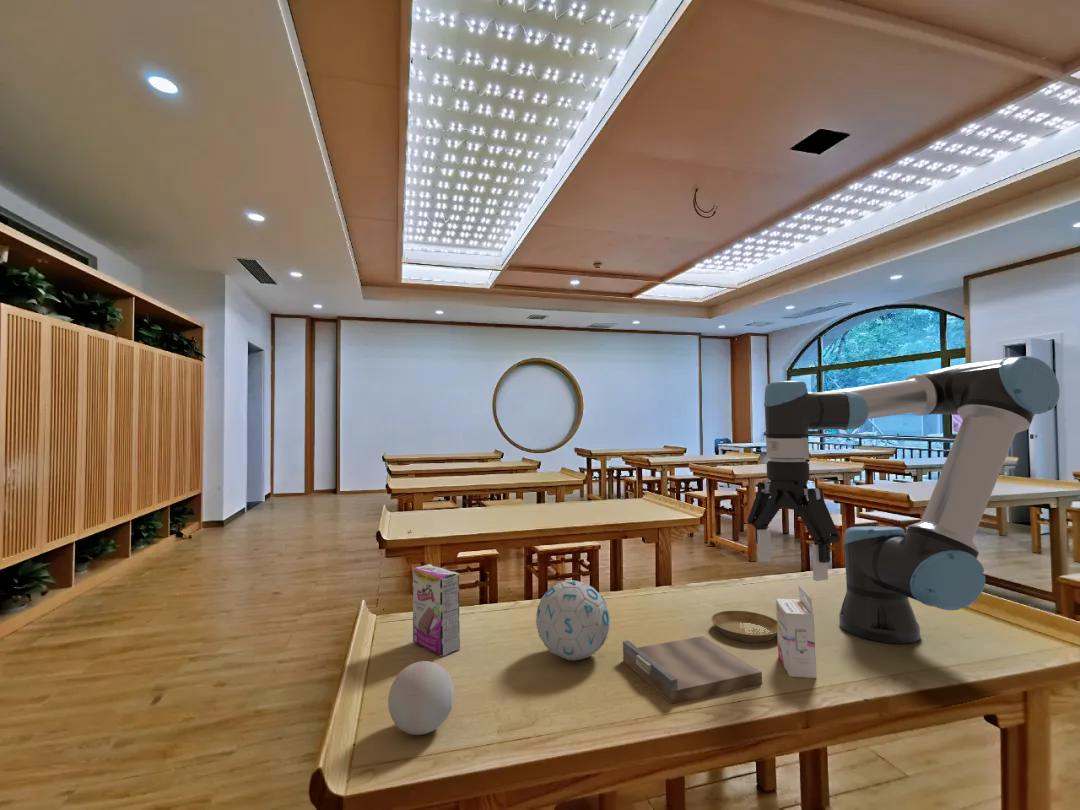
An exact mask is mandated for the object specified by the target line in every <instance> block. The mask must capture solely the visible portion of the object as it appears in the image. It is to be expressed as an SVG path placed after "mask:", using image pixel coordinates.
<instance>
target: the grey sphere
mask: <svg viewBox="0 0 1080 810" xmlns="http://www.w3.org/2000/svg"><path fill="white" fill-rule="evenodd" d="M454 703H455V686H454V682H453V680H452V678H451V676H450V674H449V673H448V671H447V670H446V669H445V668H444V667H443V666H441V665H440V664H438V663H437V662H433V661H427V660H424V661H423V660H422V661H417V662H416V661H415V662H413V663H411V664H409V665H408V666H405V668H403V669H402V670H401V671H400V672H399V673H398V675H397V676H396V677H395V679H394V680H393V682H392V684H391V686H390V689H389V692H388V698H387V707H388V713H389V714H390V717H391V719H392V722H393V723H394V724H395V726H396V727H398V729H399V730H401V731H403V732H404V733H405V734H409V735H413V736H414V735H415V736H421V735H426V734H429V733H432V732H433V731H435V730H436V729H438V728H439V727H440V726H441V725H442V724H443V723H444V722H445V721H446V720H447V718H448V717H449V715H450V713H451V711H452V709H453V707H454Z"/></svg>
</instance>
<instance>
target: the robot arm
mask: <svg viewBox="0 0 1080 810" xmlns="http://www.w3.org/2000/svg"><path fill="white" fill-rule="evenodd" d="M764 390H765V391H764V403H763V406H764V417H765V418H764V419H765V421H764V423H765V425H764V426H765V446H766V447H765V448H766V458H767V459H769V460H768V461H767V462H766V478H767V479H768V480H770V481H759V482H757V490H756V491H757V493H756V495H755V498H754V501H753V503H752V507H751V508H750V512H749V515H748V518H747V523H748V524H749V525H752V526H753V528H754V529H755V543H756V544H757V562H759V563H768V562H772V544H771V543H772V540H771V537H772V536H771V528H770V524H771V522H772V520H773V519H774V518H775V516H776V515H777V514H778V512H779V511H780V509H781V508H785V509H787V510H793V511H794V512H795V513H796V514H797V515H798V516H799V517H800V519H801V521H802V522H803V524H804V526H805V527H806V528H807V530H808V532H809V533H810V535H811V537H812V538H813V540H814V542H813V543H811V549H812V550H811V551H812V554H811V556H812V557H811V558H812V580H813V581H815V582H820V581H827V580H829V567H828V566H829V565H828V563H830V561H831V544H834V543H840V542H841V537H840V534H839V532H838V530H837V528H836V525H835V523H834V521H833V519H832V516H831V513H830V511H829V509H828V507H827V504H826V502H825V499H824V491H823V489H822V488H821V487H814V488H808V481H809V480H811V479H810V477H811V476H810V463H809V461H806V460H807V459H809V458H810V451H809V450H810V449H809V431H813V430H814V431H816V430H819V431H821V430H824V431H825V430H826V431H827V430H829V431H830V430H842V431H848V430H855V429H859V428H861V427H862V426H864V425H865V423H866V421H867V420H869V419H876V418H877V419H878V418H883V417H891V416H892V417H893V416H899V415H904V414H912V415H915V416H927V415H949V416H950V415H951V416H953V415H956V416H959V417H960V419H961V420H962V421H961V423H960V426H959V427H958V430H957V433H956V435H955V438H954V440H953V443H952V445H951V448H950V450H949V452H948V455H947V457H946V459H945V462H944V465H943V467H942V469H941V471H940V474H939V477H938V479H937V482H936V483H935V486H934V489H933V490H932V493H931V496H930V498H929V500H928V503H927V506H926V508H925V510H924V512H923V515H922V517H921V520H920V521H919V522H915V523H913V524H909V525H908V527H907V530H906V532H905V529H904V528H903V527H900V526H886V525H885V526H881V525H880V526H873V525H871V526H865V525H864V526H852V527H848V528H846V530H845V532H844V541H843V547H844V564H845V565H844V566H845V578H846V579H845V581H846V583H845V584H846V592H845V596H844V599H843V602H842V604H841V608H840V611H839V614H838V618H839V626H840V627H841V628H842V629H843V630H845V631H846V632H848V633H850V634H852V635H854V636H857V637H860V638H864V639H867V640H871V641H874V642H880V643H887V644H913V643H916V642H918V641H919V640H920V639H921V627H920V625H919V624H920V623H918V621H917V618H916V614H915V613H914V609H913V607H912V605H911V603H910V599H913V600H915V601H918V602H920V603H921V604H923V605H925V606H926V607H927V606H928V607H933V608H937V609H941V610H943V611H944V610H945V611H959V610H960V609H964V608H965V609H966V608H967V607H970V606H971V605H972V604H974V603H975V602H976V601H977V600H978V598H980V596H981V595H982V593H983V592H984V591H983V590H984V588H985V585H986V575H985V574H983V573H984V572H985V569H984V567H983V564H982V563H981V562H980V561H979V560H978V556H979V555H980V554H979V553H980V551H979V549H978V547H977V546H976V545H975V543H974V538H975V535H976V533H977V531H978V528H979V525H980V523H981V520H982V518H983V515H984V514H985V511H986V509H987V506H988V503H989V502H990V501H989V500H990V498H991V496H992V494H993V491H994V489H995V486H996V483H997V480H998V478H999V476H1000V473H1001V471H1002V468H1003V466H1004V463H1005V461H1006V459H1007V456H1008V454H1009V451H1010V449H1011V446H1012V444H1013V442H1014V439H1015V436H1016V434H1018V433H1021V432H1024V431H1027V430H1029V429H1030V427H1031V423H1032V421H1033V419H1034V416H1035V415H1042V414H1044V413H1047V412H1049V411H1052V410H1053V409H1054V408H1055V407H1056V406H1057V404H1058V402H1059V398H1060V395H1061V393H1060V392H1061V391H1060V390H1061V389H1060V383H1059V380H1058V378H1057V376H1056V374H1055V372H1054V370H1053V369H1052V368H1051V367H1050V366H1049V364H1047V363H1046V362H1045V361H1043V360H1042V359H1040V358H1037V357H1033V356H1028V355H1024V356H1022V355H1021V356H1006V357H1004V358H999V359H998V358H997V359H991V360H983V361H975V362H969V363H967V362H966V363H961V364H954V365H951V366H948V367H943V368H940V369H935V370H933V371H928V372H923V373H919V374H912V375H910V376H907V377H906V378H905V379H904V380H899V381H892V382H891V381H890V382H885V383H877V384H868V385H863V386H857V387H849V388H848V387H847V388H840V389H835V390H834V389H833V390H826V391H821V392H820V391H819V392H818V391H816V392H815V391H814V392H813V391H808V388H807V383H806V382H805V381H802V380H783V381H775V382H774V381H773V382H770V383H768V384H767V385H766V386H765V389H764Z"/></svg>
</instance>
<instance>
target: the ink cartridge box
mask: <svg viewBox="0 0 1080 810" xmlns="http://www.w3.org/2000/svg"><path fill="white" fill-rule="evenodd" d="M797 586H798V591H799V592H798V593H799V599H794V598H775V608H776V611H775V612H776V620H777V635H776V636H777V651H778V652H777V655H778V658H779V660H780V661H781V663H782V666H783V668H784V669H785V671H786V672H787V674H788V676H789V677H793V678H805V679H806V678H808V679H817V676H818V675H817V674H818V673H817V657H816V656H817V655H816V635H815V618H814V616H815V615H814V610H813V604H812V598H811V596H810V595H809V593H808V592H807V591H806V590H805V589H804V588H803V587H802V586H801V585H800V584H798V585H797Z"/></svg>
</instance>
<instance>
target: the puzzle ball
mask: <svg viewBox="0 0 1080 810" xmlns="http://www.w3.org/2000/svg"><path fill="white" fill-rule="evenodd" d="M535 625H536V630H537V632H538V637H539V638H540V640H541V641H542V643H543V644H544V646H545V648H547V650H548V651H550V652H551V653H553V654H554V655H556V656H559V657H560V658H563V659H564V660H567V661H579V660H583V659H586V658H589V657H591V656H592V655H595V654H596V653H597V652H598V651H599V650H600V649H601V647H603V646H604V643H605V641H606V639H607V638H608V635H609V630H610V611H609V609H608V605H607V603H606V600H605V599H604V597H603V595H602V594H601V593H599V592H598V591H597V590H596V589H595V587H593V586H592V585H589V584H588V583H585V582H582V581H579V580H575V579H574V580H573V579H571V580H567V581H561V582H558V583H556V584H555V585H553V586H552V587H550V588H549V589H548V590H547V591H546V592H545V593H544V594H543V596H542V597H541V599H540V601H539V603H538V605H537V610H536V617H535Z"/></svg>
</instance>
